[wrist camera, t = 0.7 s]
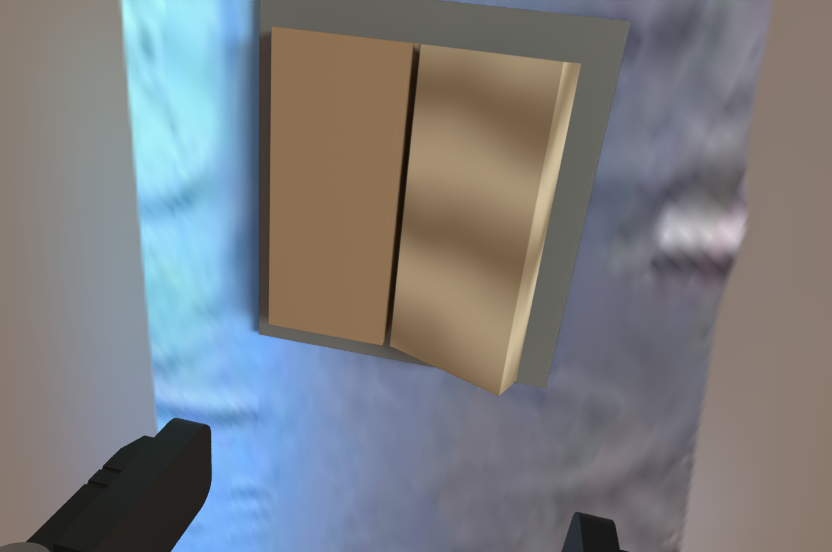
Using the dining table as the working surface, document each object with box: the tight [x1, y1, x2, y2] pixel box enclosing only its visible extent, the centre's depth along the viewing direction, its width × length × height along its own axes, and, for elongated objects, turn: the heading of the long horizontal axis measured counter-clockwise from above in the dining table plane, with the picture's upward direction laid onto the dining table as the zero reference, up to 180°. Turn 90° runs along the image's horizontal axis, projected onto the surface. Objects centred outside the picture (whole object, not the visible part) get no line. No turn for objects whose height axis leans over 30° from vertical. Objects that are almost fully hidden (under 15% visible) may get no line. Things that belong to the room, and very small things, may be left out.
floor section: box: [259, 0, 631, 388], centre depth 31 cm, size 20×18×3 cm
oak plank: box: [390, 44, 581, 396], centre depth 29 cm, size 16×7×2 cm, turn 174°
